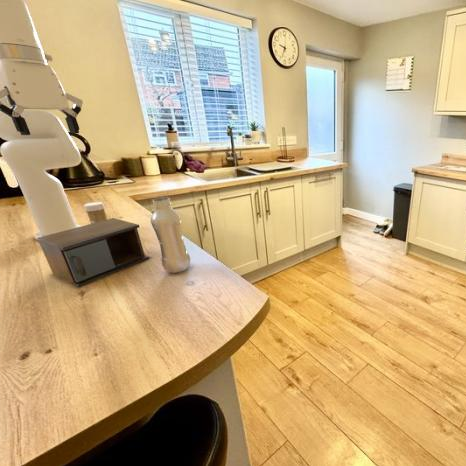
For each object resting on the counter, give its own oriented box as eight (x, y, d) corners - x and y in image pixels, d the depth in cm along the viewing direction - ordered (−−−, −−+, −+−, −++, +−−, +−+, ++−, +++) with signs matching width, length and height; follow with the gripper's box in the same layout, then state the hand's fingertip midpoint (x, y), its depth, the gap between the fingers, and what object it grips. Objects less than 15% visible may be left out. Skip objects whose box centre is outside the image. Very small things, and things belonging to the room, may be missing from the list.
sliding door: (75, 281, 71) (63, 251, 67) (113, 267, 78) (104, 238, 74) (83, 285, 69) (70, 254, 66) (121, 269, 76) (111, 241, 73)
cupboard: (53, 274, 75) (36, 237, 71) (123, 249, 90) (113, 217, 86) (78, 287, 70) (62, 247, 66) (149, 258, 85) (139, 224, 80)
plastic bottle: (197, 266, 81) (182, 197, 73) (177, 277, 75) (158, 204, 67) (180, 262, 83) (163, 194, 75) (158, 273, 77) (138, 201, 69)
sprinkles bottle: (114, 243, 94) (101, 204, 88) (96, 247, 91) (82, 206, 86) (115, 239, 97) (103, 200, 92) (98, 242, 95) (84, 202, 90)
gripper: (61, 64, 76) (84, 132, 82) (-41, 51, 61) (-4, 135, 68) (76, 61, 73) (99, 132, 79) (-27, 47, 58) (10, 136, 65)
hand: (51, 134), depth 73 cm, fingers open, 9 cm apart
